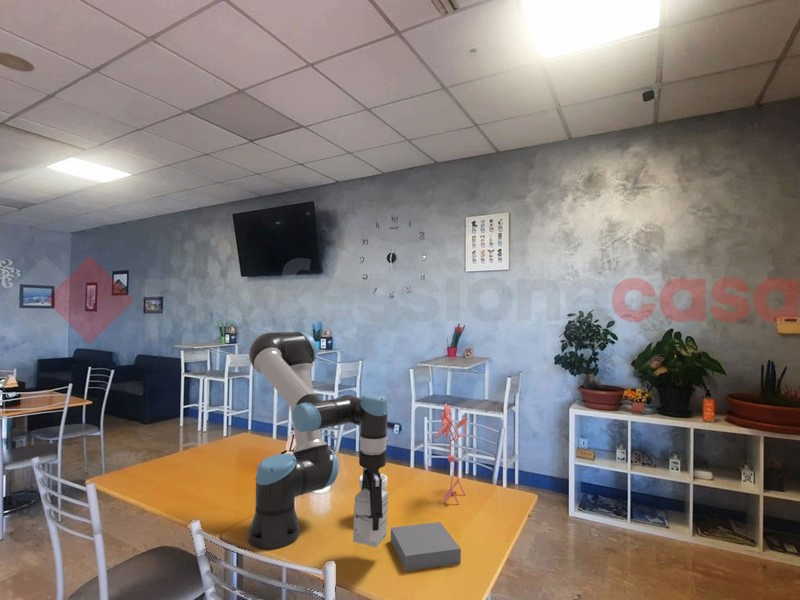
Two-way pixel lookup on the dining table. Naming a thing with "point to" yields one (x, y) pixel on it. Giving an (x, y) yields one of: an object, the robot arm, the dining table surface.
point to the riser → (425, 546)
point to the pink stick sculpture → (445, 428)
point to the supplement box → (363, 521)
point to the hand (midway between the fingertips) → (370, 531)
